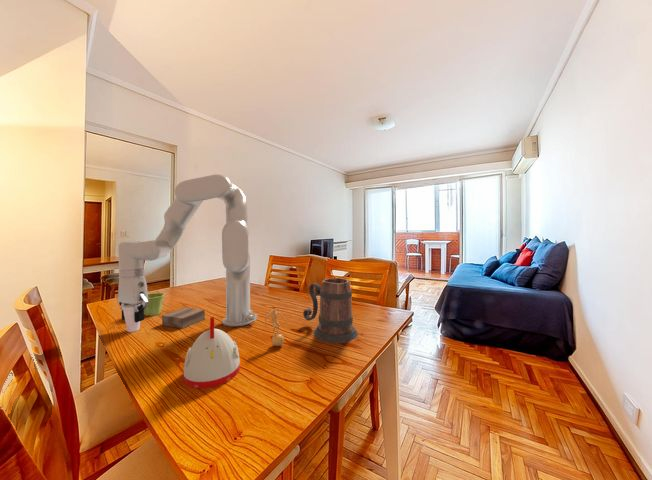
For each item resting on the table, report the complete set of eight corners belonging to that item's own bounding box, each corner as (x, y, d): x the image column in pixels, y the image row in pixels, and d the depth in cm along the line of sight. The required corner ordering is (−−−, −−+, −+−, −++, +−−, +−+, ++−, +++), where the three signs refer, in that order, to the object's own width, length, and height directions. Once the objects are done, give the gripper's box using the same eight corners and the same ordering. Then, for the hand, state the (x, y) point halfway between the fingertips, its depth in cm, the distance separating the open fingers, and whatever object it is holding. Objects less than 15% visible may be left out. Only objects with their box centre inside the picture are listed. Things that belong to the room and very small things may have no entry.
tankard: (365, 330, 97) (366, 279, 96) (343, 347, 83) (343, 287, 83) (317, 318, 111) (317, 273, 110) (290, 331, 97) (290, 279, 96)
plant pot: (169, 313, 117) (168, 294, 117) (145, 319, 109) (145, 299, 109) (159, 309, 122) (158, 291, 122) (136, 315, 114) (135, 296, 114)
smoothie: (132, 334, 93) (131, 296, 92) (118, 332, 94) (117, 295, 94) (147, 327, 99) (146, 292, 99) (134, 326, 101) (133, 291, 100)
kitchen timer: (180, 394, 60) (179, 331, 59) (186, 365, 72) (185, 313, 72) (242, 380, 65) (241, 323, 64) (237, 355, 78) (237, 307, 77)
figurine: (270, 352, 80) (270, 314, 79) (260, 346, 84) (260, 310, 84) (291, 343, 86) (291, 308, 85) (280, 338, 90) (280, 305, 90)
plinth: (204, 319, 109) (204, 310, 109) (183, 328, 99) (182, 318, 98) (185, 316, 113) (185, 307, 112) (162, 325, 102) (162, 315, 102)
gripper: (157, 273, 97) (158, 319, 97) (126, 270, 102) (127, 314, 103) (137, 276, 90) (139, 326, 90) (105, 273, 95) (106, 320, 96)
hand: (133, 319), depth 97 cm, fingers closed on smoothie, 6 cm apart
